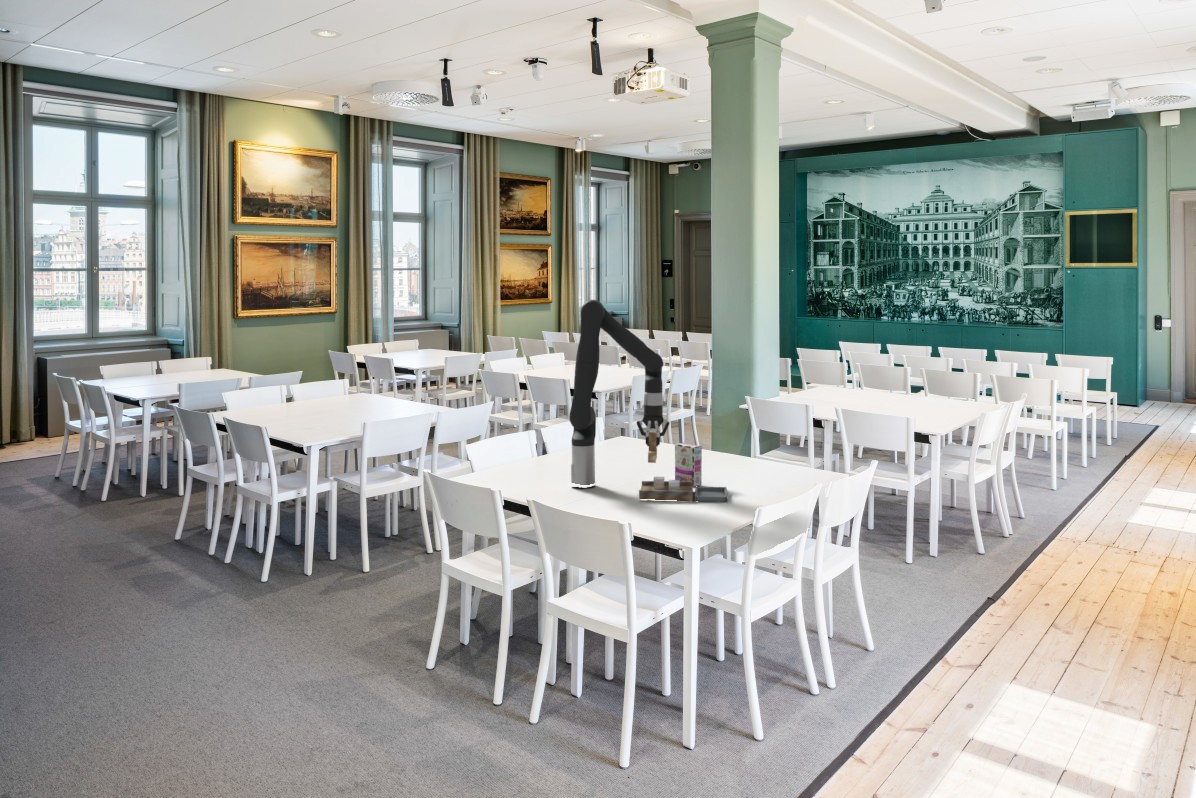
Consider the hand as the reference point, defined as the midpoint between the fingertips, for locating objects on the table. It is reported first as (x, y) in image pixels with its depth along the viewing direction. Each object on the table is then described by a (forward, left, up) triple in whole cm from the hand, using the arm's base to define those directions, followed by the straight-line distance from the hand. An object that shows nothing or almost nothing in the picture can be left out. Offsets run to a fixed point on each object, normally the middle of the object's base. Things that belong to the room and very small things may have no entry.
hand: (652, 445), depth 361 cm
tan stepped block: (0, 0, -6) cm, 6 cm away
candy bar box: (+14, +4, -17) cm, 22 cm away
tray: (+23, -16, -17) cm, 33 cm away
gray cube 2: (+9, -18, -14) cm, 25 cm away
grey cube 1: (+3, -13, -14) cm, 20 cm away
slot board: (+6, -16, -17) cm, 24 cm away
